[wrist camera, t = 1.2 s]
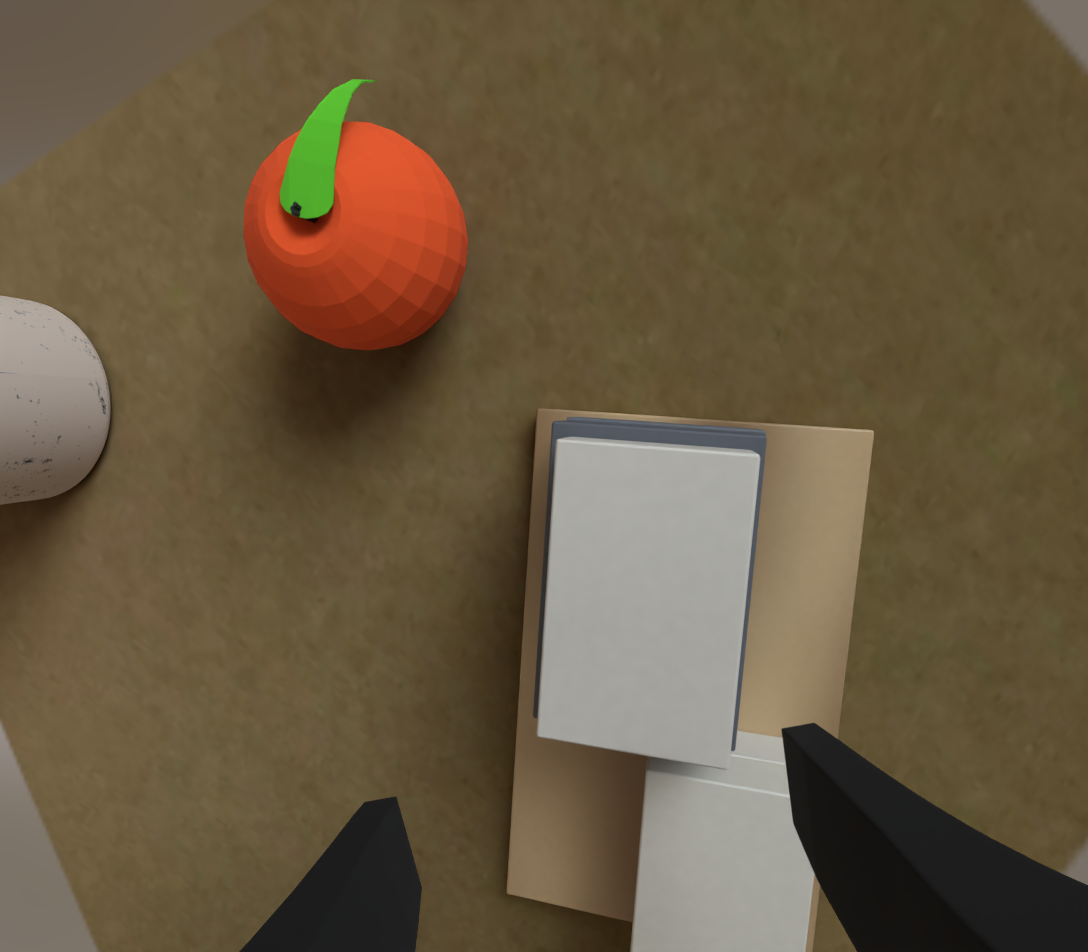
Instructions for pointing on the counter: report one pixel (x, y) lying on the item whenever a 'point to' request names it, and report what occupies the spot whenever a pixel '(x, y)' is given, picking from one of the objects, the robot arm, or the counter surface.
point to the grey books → (666, 435)
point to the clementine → (354, 231)
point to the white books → (721, 856)
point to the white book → (646, 597)
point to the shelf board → (768, 676)
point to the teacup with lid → (47, 402)
